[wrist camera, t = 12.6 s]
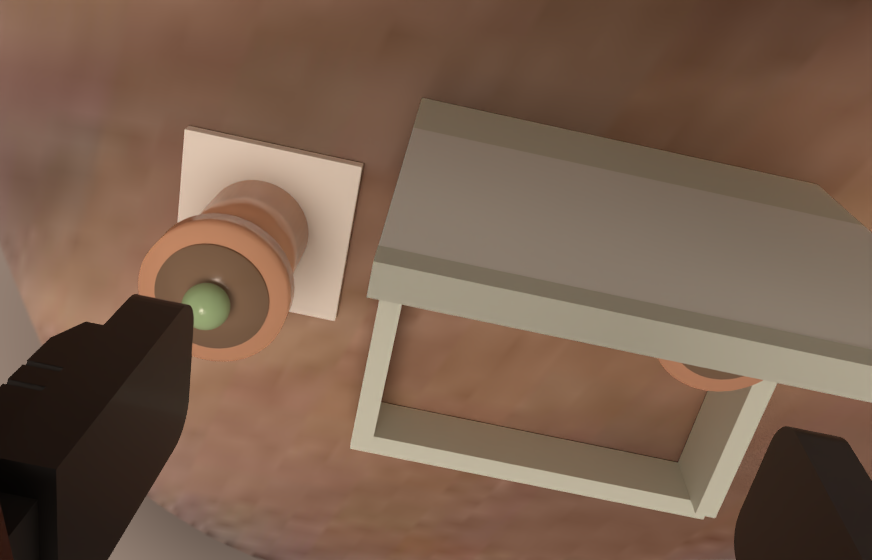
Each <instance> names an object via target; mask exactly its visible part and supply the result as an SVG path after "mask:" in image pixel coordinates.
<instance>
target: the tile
mask: <svg viewBox="0 0 872 560" xmlns="http://www.w3.org/2000/svg"><path fill="white" fill-rule="evenodd" d="M363 164H364V163H360V162H355V161H351V160H346V159H341V158H337V157H332V156H327V155H323V154H318V153H313V152H309V151H304V150H300V149H295V148H290V147H286V146H281V145H276V144H272V143H267V142H262V141H258V140H253V139H248V138H244V137H239V136H235V135H230V134H225V133H221V132H216V131H211V130H207V129H202V128H197V127H193V126H188V127H187V128H186V129H185V133H184V146H183V159H182V172H181V185H180V198H179V211H178V222H180V221H182V220H184V219H186V218H189V217H192V216H195V215H199V214H200V213H201V212H202V211H203V210H204V209H205V207H206V206H207V205H208V204H209V203H210V202H211V201H212V200H213V198H214V197H215V196H216V195H217V194H218V193H219V192H220V191H221V190H223V189H224V188H225V187H227V186H229V185H231V184H233V183H236V182H239V181H244V180H259V181H265V182H268V183H271V184H274V185H276V186H278V187H280V188H282V189H283V190H285V191H286V192H287V193H289V194H290V195H291V196H292V197H293V198H294V199H295V200H296V201H297V202H298V204H299V205H300V207H301V208H302V210H303V212H304V214H305V217H306V220H307V224H308V232H309V235H308V243H307V247H306V249H305V252H304V254H303V256H302V258H301V260H300V262H299V264H298V266H297V268H296V270H295V272H294V274H293V276H294V286H295V290H294V298H293V302H292V306H291V308H290V310H289V312H293V313H298V314H303V315H308V316H313V317H317V318H322V319H327V320H332V321H335V319H336V317H337V312H338V306H339V301H340V295H341V289H342V284H343V278H344V272H345V267H346V261H347V255H348V250H349V244H350V238H351V233H352V227H353V221H354V215H355V210H356V204H357V198H358V193H359V187H360V181H361V176H362V170H363Z"/></svg>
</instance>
